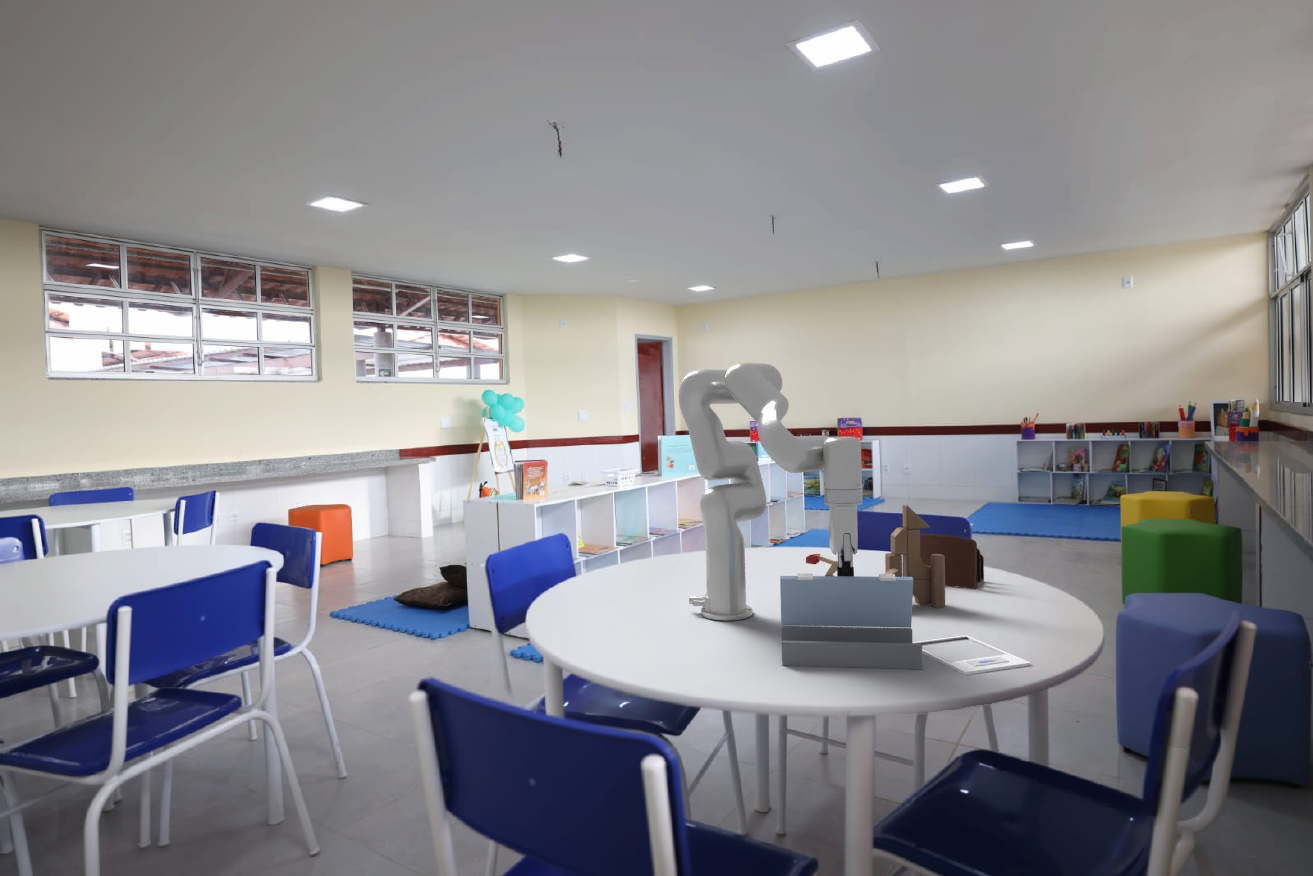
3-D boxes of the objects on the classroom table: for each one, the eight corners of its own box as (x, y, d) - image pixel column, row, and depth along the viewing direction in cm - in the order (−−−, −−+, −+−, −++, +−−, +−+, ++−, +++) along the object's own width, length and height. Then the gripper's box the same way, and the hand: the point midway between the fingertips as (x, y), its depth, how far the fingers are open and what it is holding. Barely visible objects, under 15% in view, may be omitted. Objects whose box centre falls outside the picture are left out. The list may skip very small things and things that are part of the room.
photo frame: (965, 671, 134) (906, 642, 151) (965, 677, 134) (906, 647, 151) (1030, 661, 138) (966, 634, 155) (1030, 667, 138) (966, 639, 155)
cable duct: (782, 665, 141) (781, 642, 141) (781, 647, 152) (781, 625, 152) (922, 669, 137) (922, 645, 137) (911, 650, 148) (911, 628, 148)
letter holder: (977, 589, 195) (976, 537, 194) (901, 581, 206) (901, 532, 206) (984, 582, 203) (983, 531, 203) (911, 574, 214) (911, 527, 214)
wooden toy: (886, 611, 176) (884, 508, 176) (875, 604, 183) (874, 505, 182) (947, 608, 178) (946, 506, 177) (935, 601, 184) (933, 502, 183)
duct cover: (780, 577, 147) (780, 571, 149) (781, 628, 151) (781, 622, 153) (914, 578, 143) (912, 572, 145) (912, 630, 147) (910, 624, 149)
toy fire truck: (855, 595, 192) (854, 559, 192) (806, 589, 199) (805, 554, 199) (859, 592, 195) (858, 556, 194) (810, 587, 202) (809, 552, 202)
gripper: (821, 493, 157) (824, 578, 157) (827, 501, 142) (830, 595, 142) (857, 492, 156) (860, 578, 156) (867, 501, 141) (869, 595, 141)
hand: (845, 586), depth 149 cm, fingers closed
